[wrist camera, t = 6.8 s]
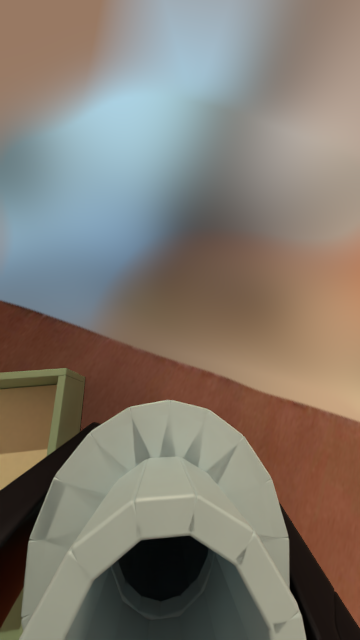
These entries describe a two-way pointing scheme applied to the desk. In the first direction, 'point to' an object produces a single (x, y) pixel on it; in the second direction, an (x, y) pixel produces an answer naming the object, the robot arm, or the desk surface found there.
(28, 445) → the divided tray
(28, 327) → the desk surface
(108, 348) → the desk surface
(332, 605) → the robot arm
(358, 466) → the desk surface
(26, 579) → the bottle
